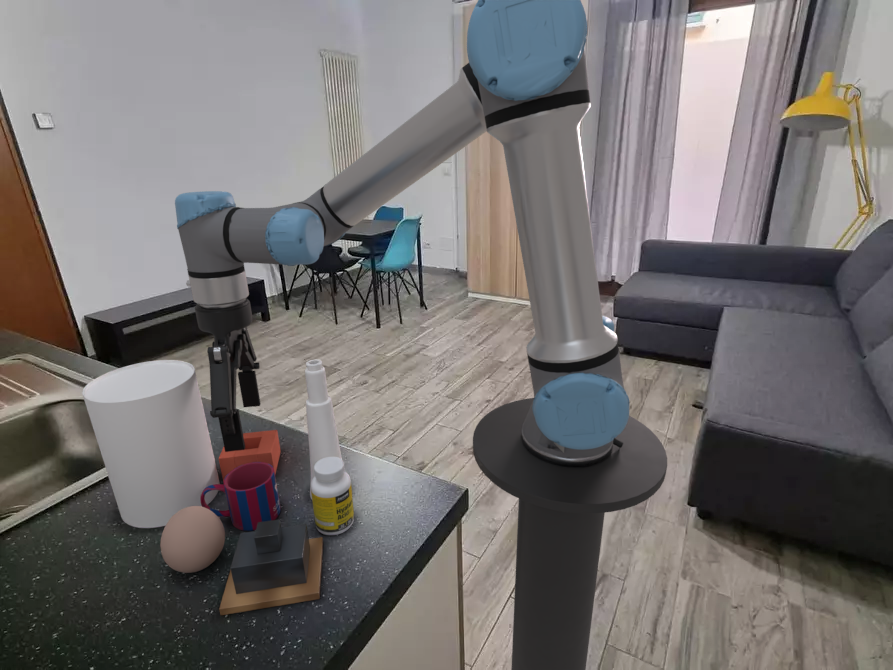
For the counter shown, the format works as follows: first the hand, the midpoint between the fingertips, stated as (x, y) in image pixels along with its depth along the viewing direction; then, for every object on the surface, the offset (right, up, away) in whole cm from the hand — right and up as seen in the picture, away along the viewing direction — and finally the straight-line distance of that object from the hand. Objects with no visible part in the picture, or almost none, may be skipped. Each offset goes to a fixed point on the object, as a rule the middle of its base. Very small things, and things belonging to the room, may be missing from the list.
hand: (244, 426), depth 79 cm
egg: (+1, -15, -17) cm, 22 cm away
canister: (-9, -10, -4) cm, 14 cm away
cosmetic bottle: (+15, -10, -4) cm, 18 cm away
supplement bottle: (+17, -12, -10) cm, 23 cm away
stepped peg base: (+12, -15, -19) cm, 27 cm away
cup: (+4, -12, -9) cm, 15 cm away
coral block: (0, -7, +3) cm, 8 cm away
